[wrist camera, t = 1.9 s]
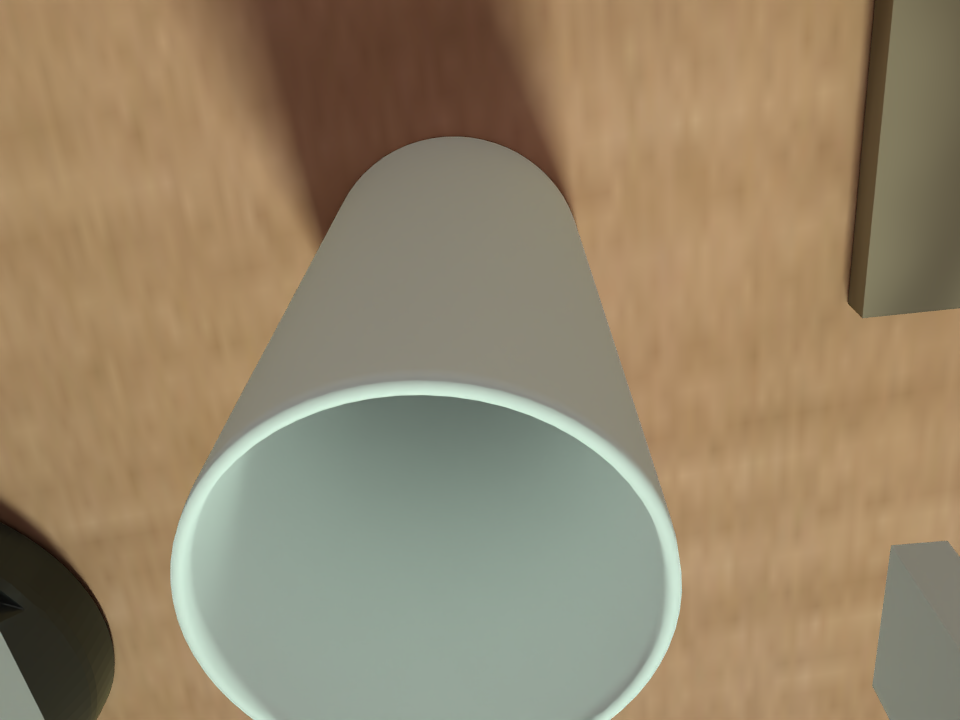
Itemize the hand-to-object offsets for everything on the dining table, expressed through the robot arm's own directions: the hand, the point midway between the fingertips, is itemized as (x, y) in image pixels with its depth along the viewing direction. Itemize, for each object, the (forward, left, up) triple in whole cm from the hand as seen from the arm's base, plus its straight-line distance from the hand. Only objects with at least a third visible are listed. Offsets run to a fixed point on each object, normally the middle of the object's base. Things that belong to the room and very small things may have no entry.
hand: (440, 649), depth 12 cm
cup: (0, 0, -17) cm, 17 cm away
